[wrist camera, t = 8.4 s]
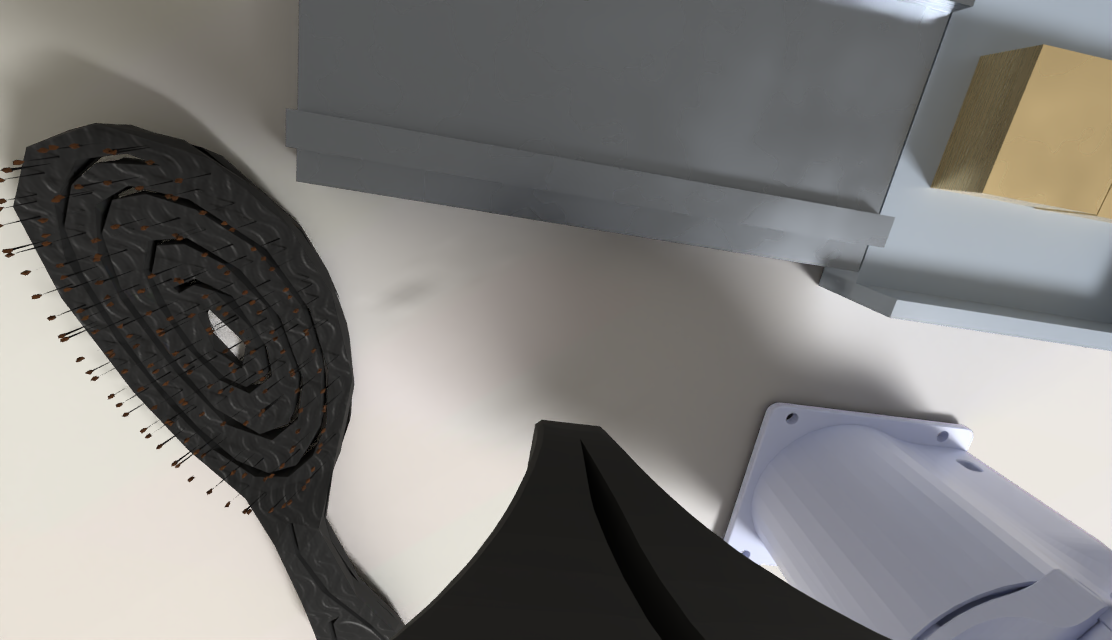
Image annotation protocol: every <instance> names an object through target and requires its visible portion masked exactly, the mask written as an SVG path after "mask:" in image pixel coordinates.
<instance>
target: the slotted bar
mask: <svg viewBox="0 0 1112 640" xmlns="http://www.w3.org/2000/svg"><path fill="white" fill-rule="evenodd" d="M974 3H975V0H299V45H298V108H297V110H294V109H288V108H286V147H292V148H297V171H296V181H298V182H304V183H310V184H316V185H322V186H329V187H335V188H341V189H347V190H353V191H360V192H366V193H372V194H378V195H384V196H391V197H397V198H403V199H409V200H415V201H422V202H428V203H434V204H440V205H446V206H452V207H459V208H465V209H471V210H477V211H483V212H490V213H496V214H502V215H508V216H514V217H521V218H527V219H533V220H539V221H545V222H552V223H558V224H564V225H570V226H576V227H582V228H589V229H595V230H601V231H607V232H613V233H620V234H626V235H632V236H638V237H644V238H651V239H657V240H663V241H669V242H675V243H681V244H688V245H694V246H700V247H706V248H712V249H719V250H725V251H731V252H737V253H743V254H750V255H756V256H762V257H768V258H774V259H781V260H787V261H793V262H799V263H805V264H811V265H818V266H824V267H830V268H836V269H842V270H849V271H855V272H858V270H859V267H860V264H861V262H862V259H863V256H864V253H865V250H866V248H867V245H870V246H875V247H881V248H884V247H885V244H886V241H887V239H888V236H889V233H890V230H891V228H892V225H893V222H894V220H895V217H891V216H886V215H881V214H879V211H880V208H881V206H882V203H883V200H884V197H885V194H886V192H887V189H888V186H889V183H890V180H891V178H892V175H893V172H894V169H895V167H896V164H897V161H898V158H899V155H900V153H901V150H902V147H903V144H904V141H905V139H906V136H907V133H908V130H909V127H910V125H911V122H912V119H913V116H914V113H915V111H916V108H917V105H918V102H919V99H920V97H921V94H922V91H923V88H924V85H925V83H926V80H927V77H928V74H929V72H930V69H931V66H932V63H933V60H934V58H935V55H936V52H937V49H938V46H939V44H940V41H941V38H942V35H943V32H944V30H945V27H946V24H947V21H948V18H949V16H950V13H953V12H956V11H959V10H963V9H966V8H969V7H973V5H974Z"/></svg>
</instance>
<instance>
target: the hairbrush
mask: <svg viewBox="0 0 1112 640" xmlns="http://www.w3.org/2000/svg"><path fill="white" fill-rule="evenodd" d="M117 154H130V155H133V156H135V157H138V158H141V159H144V160H141V159H133V158H125V157H124V158H122V159H120V160H115V161H107V162H99V163H96V162H97V161H98V160H99V159H100V158H101V157H102V156H109V155H117ZM94 163H95V164H94ZM21 164H23V165H22V167H18V168H10V167H8V168H3V169H2V170H0V171H3V172H5V173H9V172H13V170H18V169H21V174H20V176H19V177H20V178H19V183H18V187H17V192H16V196H15V198H14V199H15V201H14V205H13V206H10V207H13V208H14V210H15V211H16V213H17V215H18V217H19V219H20V221H21V223H22V225H23V227H24V228H25V230H26V232H27V234H28V236H29V238H30V240H31V242H32V243H33V244H29V245H34V248H31V249H36V251H37V253H38V255H39V257H40V258H41V260H42V262H43V264H44V266H45V268H46V270H47V272H48V273H49V275H50V277H51V279H52V281H53V283H54V285H55V287H56V288H57V289H56V290H58V292H59V294H60V296H61V298H62V299H63V301H64V302H65V303H66V304H67V306H68V307H69V308H70V311H72V312H73V314H74V315H75V316H76V318H77V319H78V320H79V321H80V323H81V324H82V325H83V327H84V328H85V329H86V330H84V331H87V332H88V333H89V335H90V336H91V337H92V338H93V340H94V341H95V342H96V344H97V345H98V346H99V348H100V349H101V350H102V351H103V353H104V354H105V355H106V357H107V358H108V359H109V361H110V362H111V363H112V365H113V366H114V367H115V368H116V370H117V371H118V372H119V374H120V375H121V376H122V378H123V379H124V380H125V382H126V383H127V384H128V385H129V387H130V388H131V389H132V391H133V392H134V393H135V394H136V395H137V396H138V397H139V398H140V399H141V400H142V402H143V403H144V404H145V405H146V406H147V407H148V408H149V409H150V410H151V411H152V412H153V413H154V414H155V415H156V416H157V417H158V418H159V419H160V421H161V422H162V423H163V424H164V426H166V427H167V428H168V429H169V430H170V431H171V432H172V433H173V434H174V435H175V436H176V437H177V439H178V440H179V441H180V442H181V443H182V444H183V445H184V446H185V447H186V448H187V449H188V450H189V451H190V452H191V453H192V455H195V456H196V457H197V458H198V459H199V460H201V461H202V462H203V463H204V464H205V465H207V466H208V467H209V468H210V469H211V470H212V471H214V472H215V473H216V474H217V475H218V476H220V477H221V478H222V479H223V480H224V481H225V482H227V483H228V484H229V485H230V486H231V487H232V488H234V489H235V490H236V491H237V492H238V493H240V494H241V495H242V496H243V497H244V498H245V499H246V500H247V502H248V503H249V505H250V506H249V507H248V508H246V509H245V510H244V511H243V512H242V513H244V514H245V513H246V512H247V514H248V515H249V514H250V513H251V512H252V510H253V511H254V513H255V515H256V516H257V518H258V519H259V521H260V523H261V524H262V526H263V527H264V529H265V531H266V532H267V534H268V536H269V537H270V539H271V540H272V542H273V544H274V545H275V547H276V549H277V551H278V553H279V556H280V558H281V560H282V562H283V564H284V566H285V568H286V570H287V572H288V575H289V577H290V579H291V581H292V583H293V585H294V587H295V589H296V592H297V594H298V596H299V598H300V600H301V602H302V604H303V606H304V608H305V611H306V613H307V616H308V618H309V621H310V624H311V626H312V629H313V631H314V634H315V636H316V639H317V640H389V639H390V638H391V637H393V636H394V635H395V634H396V633H397V632H398V631H399V630H401V629H402V628H403V627H404V626H405V625H404V624H403V622H402V620H401V619H400V617H399V616H398V614H397V613H396V612H395V611H394V610H392V609H391V608H390V607H389V606H388V605H387V604H386V603H385V602H384V601H383V600H382V599H381V598H380V597H379V596H378V595H377V594H376V593H375V592H374V591H373V590H372V589H371V588H370V587H369V586H368V585H367V584H366V583H364V582H363V581H362V580H361V579H360V577H359V576H358V574H357V572H356V570H355V568H354V567H353V565H352V563H351V561H350V560H349V558H348V556H347V554H346V553H345V551H344V549H343V547H342V545H341V544H340V542H339V540H338V538H337V537H336V535H335V533H334V531H333V529H332V528H331V526H330V524H329V522H328V521H327V519H326V516H327V509H328V502H329V495H330V487H331V480H332V473H333V469H334V466H335V464H336V461H337V459H338V456H339V454H340V451H341V446H342V442H343V439H344V436H345V433H346V430H347V427H348V424H349V421H350V418H349V421H348V423H347V418H348V413H349V408H350V404H351V403H352V394H353V389H354V377H353V367H352V357H351V347H350V337H349V332H348V328H347V323H346V320H345V317H344V314H343V311H342V308H341V305H340V302H339V300H338V297H339V296H338V297H337V295H338V294H336V293H337V291H336V289H335V287H334V284H333V282H332V280H331V277H330V275H329V273H328V271H327V269H326V267H325V265H324V264H323V262H322V260H321V258H320V257H319V255H318V253H317V252H316V250H315V248H314V247H313V245H312V244H311V242H310V240H309V239H308V237H307V235H306V234H305V232H304V230H303V229H302V227H301V225H299V224H298V223H297V222H296V221H295V220H294V219H293V218H291V217H290V216H289V215H288V214H287V213H286V212H285V211H284V210H282V209H281V208H280V207H279V206H278V205H277V204H276V203H275V202H273V201H272V200H271V199H270V198H269V197H268V196H267V195H266V194H265V193H263V192H262V191H261V190H260V189H259V188H258V187H256V186H255V185H254V184H253V183H252V182H251V181H250V180H249V179H247V178H246V177H245V176H244V175H243V174H242V173H241V172H240V171H238V170H237V169H236V168H235V167H234V166H233V165H232V164H231V163H229V162H228V161H227V160H226V159H225V158H224V157H223V156H221V155H218V154H216V153H214V152H211V151H209V150H207V149H204V148H202V147H198V146H195V145H191V144H189V143H188V142H186V141H185V140H182V139H177V138H173V137H169V136H165V135H161V134H157V133H153V132H150V131H147V130H144V129H141V128H138V127H135V126H133V125H117V124H101V123H94V124H90V125H87V126H83V127H79V128H75V129H71V130H68V131H66V132H63V133H61V134H58V135H56V136H53V137H51V138H48V139H46V140H43V141H41V142H38V143H36V144H33V145H31V146H28V147H26V152H25V156H24V161H21V160H15V161H13V165H21ZM93 164H94V165H93ZM92 165H93V166H92ZM91 166H92V167H91ZM90 167H91V168H90ZM89 168H90V169H89ZM88 169H89V170H88ZM86 170H87V171H86ZM85 171H86V172H85ZM84 172H85V173H84ZM83 173H84V174H83ZM82 174H83V175H82ZM13 178H18V177H13ZM8 179H11V178H8ZM4 181H5V180H4V179H2V178H0V182H4ZM132 187H136V188H134V189H136V190H139V191H140V190H141V192H138V193H134V194H131V195H127V196H124V197H121V198H118V195H119V193H121V192H124V191H126V190H128V189H130V188H132ZM142 189H146V190H151V191H155V192H157V193H153V192H148V191H142ZM9 200H11V199H9ZM5 202H7V201H6V200H5V199H0V204H2V203H5ZM3 208H4V207H0V211H1V210H2V209H3ZM6 208H8V207H6ZM20 221H16V222H20ZM16 222H12V223H16ZM8 224H11V223H8ZM4 225H6V224H4ZM4 225H1V224H0V227H2V226H4ZM184 238H185V239H184ZM163 239H176V240H170V241H167V242H165V243H162V244H160V243H161V242H162V240H163ZM159 244H160V245H159ZM29 245H25V246H21V247H17V248H12V249H3V251H2V252H3V253H8V254H6V255H5V256H6V257H8V258H9V257H11V256H13V255H14V254H15V253H14V254H13V253H11V252H12V251H13V250H16V249H19V248H23V247H26V246H29ZM31 249H27V250H31ZM27 250H24V251H27ZM21 252H23V251H21ZM17 253H19V252H17ZM43 268H44V267H43ZM30 272H31V271H28V270H26V271H23V272H22V273H21V274H22V275H25V276H26V275H28V274H29V273H30ZM193 279H197V280H198V281H196V282H194V283H192V284H191V285H189V284H190V281H191V280H193ZM53 291H55V290H53ZM50 292H52V291H50ZM47 293H49V292H47ZM45 294H46V293H45ZM41 296H42V294H41V295H39V294H37V295H33V296H32V299H38V298H40V297H41ZM307 307H308V308H309V309H310V312H311V314H310V312H309V310H308V308H307ZM209 310H211V311H212V312H213V313H214V314H215V315H216V316H217V317H218V318H219V319H220V320H221V321H222V322H223V323H224V324H225V325H227V326H228V327H229V328H230V329H231V330H232V331H233V332H234V333H235V334H236V335H237V336H238V337H239V338H240V339H241V340H242V341H244V344H246V348H245V354H244V356H243V357H244V361H243V362H241V361H240V359H241V358H240V359H239V360H238V358H237V357H236V356H235V355H234V354H233V353H232V352H231V351H230V349H231V348H233V347H234V346H236V345H238V344H239V343H241V342H242V341H241V342H239V343H238V344H236V345H234V346H232V347H231V348H228V347H227V346H226V345H225V344H224V343H223V342H222V341H221V340H220V339H219V338H218V337H217V336H216V335H217V334H216V335H215V334H214V333H213V332H214V331H215V330H214V328H213V326H212V324H211V323H210V320H209V317H208V311H209ZM206 311H207V312H206ZM67 312H69V311H67ZM67 312H65V313H67ZM62 314H64V313H62ZM60 315H61V314H60ZM278 315H279V316H278ZM311 315H312V316H311ZM57 316H58V315H57ZM279 317H280V318H279ZM55 318H57V317H56V316H55V315H54V316H50V317H48V318H47V319H48V320H49V321H50V320H53V319H55ZM280 319H281V320H280ZM281 321H282V322H281ZM222 322H221V323H222ZM210 324H211V325H210ZM219 324H220V323H219ZM217 325H218V324H217ZM225 325H223V326H225ZM211 326H212V328H213V330H212V328H211ZM215 326H216V325H215ZM223 326H222V327H223ZM83 327H81V328H83ZM81 328H78V329H76V330H73V331H70V332H68V333H64V334H60V335H59V336H58V338H62V339H60V340H61V341H60V342H64V341H67V340H68V339H69V338H71V337H73V336H75V335H77V334H80V333H82V332H84V331H82V332H79V333H77V334H74V335H72V336H69V337H64V336H66V335H68V334H70V333H72V332H74V331H77V330H79V329H81ZM220 328H221V327H220ZM218 329H219V328H218ZM216 330H217V329H216ZM215 333H216V332H215ZM63 337H64V338H63ZM320 344H321V345H320ZM265 345H266V346H265ZM266 347H267V348H268V353H269V360H270V365H269V360H268V356H267V351H266ZM322 351H323V354H324V357H325V361H326V364H327V367H328V370H329V372H328V386H327V387H326V373H325V366H324V360H323V354H322ZM243 357H242V358H243ZM83 359H85V358H84V357H79V358H77V360H76V362H80V361H82V360H83ZM108 363H109V362H108ZM108 363H106V364H108ZM106 364H104V365H106ZM104 365H102V366H104ZM102 366H100V367H102ZM270 366H271V375H270V377H269V379H268V380H266V381H265V382H264V383H263V384H261V385H258V384H252V383H254V382H256V381H257V380H259V379H260V381H263V380H264V379H265V378H266V377H264V376H265V375H267V373H268V371H269V369H270ZM100 367H98V368H100ZM298 367H299V368H298ZM98 368H96V369H98ZM115 368H114V369H115ZM96 369H94V370H96ZM94 370H89V371H87V372H86V374H91V373H92V372H93V371H94ZM112 370H113V369H112ZM299 370H300V372H301V374H302V377H303V386H301V387H300V384H301V376H300V372H299ZM110 371H111V370H110ZM108 372H109V371H108ZM106 373H107V372H106ZM104 374H105V373H104ZM102 375H103V374H102ZM268 375H269V374H268ZM100 376H101V375H100ZM98 378H99V377H97V376H95V377H93V378H92V379H91V381H92V380H93V381H96V380H97V379H98ZM301 388H302V394H301V401H300V408H299V410H298V413H299V414H298V418H296V419H295V420H294V421H293V422H292V423H291V424H290V425H289V426H287V427H283V428H278V427H281V426H283V425H286V424H288V423H289V421H290V419H291V417H292V415H293V413H294V410H295V408H296V406H297V404H298V402H299V396H300V389H301ZM327 388H328V400H327V404H325V403H326V389H327ZM123 390H124V389H123ZM121 391H122V390H121ZM116 394H117V393H116ZM114 395H115V394H110V396H108V399H111V398H113V397H115V396H114ZM136 395H135V396H136ZM133 397H134V396H133ZM131 398H132V397H131ZM131 398H130V399H131ZM128 400H129V399H128ZM126 401H127V400H126ZM122 405H123V404H122V403H118V404H116V407H120V406H122ZM142 405H143V404H142ZM140 406H141V405H140ZM140 406H138V407H140ZM326 406H327V424H326V426H325V428H324V429H322V431H321V434H322V436H321V438H320V441H319V443H318V444H317V445H316V446H315V447H314V448H312V449H311V450H310V451H309V452H307V453H306V454H305V455H304V453H305V452H306V450H307V449H308V448H309V446H310V445H311V444H312V443H313V442H314V441H315V440H316V439H317V436H318V434H319V431H320V427H321V423H322V419H323V414H324V412H326ZM138 407H137V408H138ZM135 409H136V408H135ZM135 409H133V410H135ZM133 410H132V411H133ZM132 411H130V412H132ZM130 412H128V413H124V414H123V416H122V417H126V416H128V415H129V413H130ZM350 417H351V409H350ZM158 421H159V420H158ZM155 423H156V422H155ZM346 423H347V426H346ZM153 424H154V423H153ZM153 424H152V425H153ZM150 426H151V425H150ZM150 426H149V427H150ZM162 427H163V426H162ZM162 427H161V428H162ZM345 427H346V428H345ZM147 428H148V427H147ZM147 428H143V429H142V430H141V431H140V432H141V433H143V432H145V431H146V430H147ZM275 428H278V429H275ZM281 429H284V430H281ZM158 430H159V429H158ZM175 436H173V437H175ZM150 437H151V434H150V433H149V434H148V435H147V436H146V437H145V438H150ZM173 437H172V438H173ZM172 438H170V439H169V440H171V439H172ZM169 440H167V441H165V442H164V443H162V444H160V445H158V446H157V448H156V449H160V448H161V447H162V446H163V445H164V444H165V443H167V442H168V441H169ZM190 452H188V453H187V454H189V453H190ZM187 454H186V455H187ZM186 455H184V456H183V457H181V458H180V459H179V460H177V461H174V462H173V463H172V466H175V465H176V464H177V463H178V462H179V461H180V460H181V459H182V458H184V457H185V456H186ZM192 455H190V456H192ZM303 455H304V456H303ZM190 456H189V457H190ZM189 457H188V458H189ZM188 458H186V459H185V460H187V459H188ZM185 460H184V461H185ZM184 461H182V462H181V463H179V464H178V465H176V466H175V468H178V467H179V466H180V464H182V463H183V462H184ZM194 478H195V477H193V476H192V477H190V478H189V479H188V481H189V482H191V481H192V480H193V479H194ZM223 480H222V481H223ZM222 481H221V482H222ZM221 482H220V483H221ZM220 483H219V484H220ZM214 488H215V487H214ZM214 488H213V489H214ZM206 493H207V495H208V494H210V493H212V488H211V489H210V490H209V491H207V492H206ZM237 496H238V495H237ZM237 496H236V497H237ZM236 497H235V498H236ZM229 505H230V501H229V502H228V503H227V504H226V505H225V507H229ZM250 507H251V508H252V510H251V509H249V508H250ZM248 509H249V510H248Z"/></svg>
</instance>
